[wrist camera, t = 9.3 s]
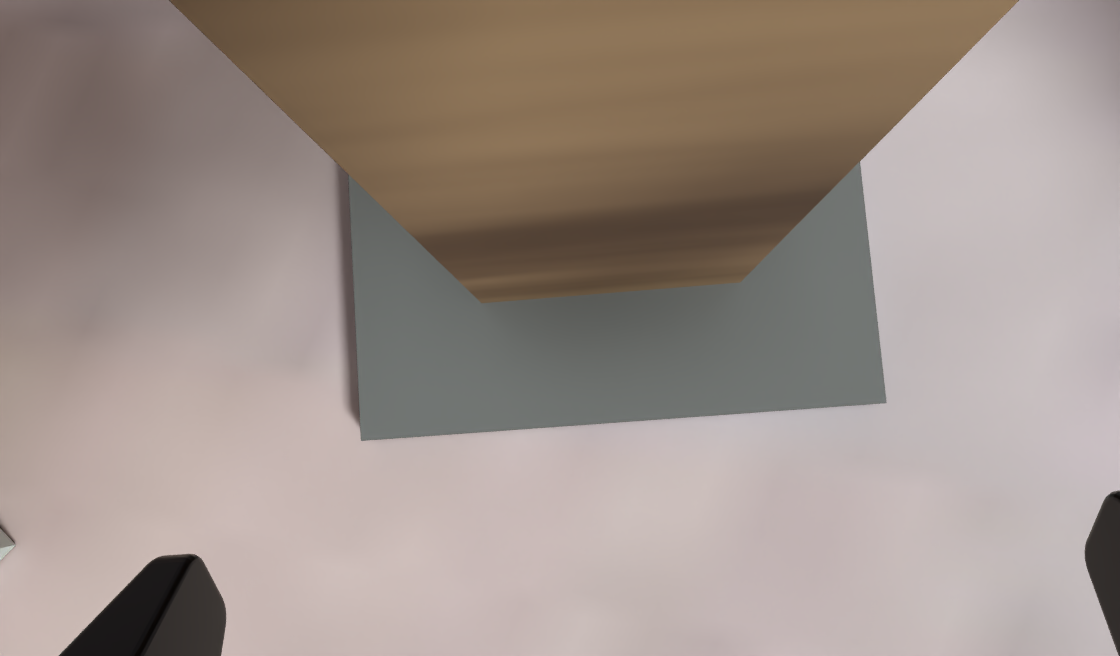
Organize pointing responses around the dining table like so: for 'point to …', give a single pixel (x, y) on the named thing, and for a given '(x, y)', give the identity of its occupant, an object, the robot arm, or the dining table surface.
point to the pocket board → (5, 544)
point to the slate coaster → (614, 337)
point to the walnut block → (595, 120)
